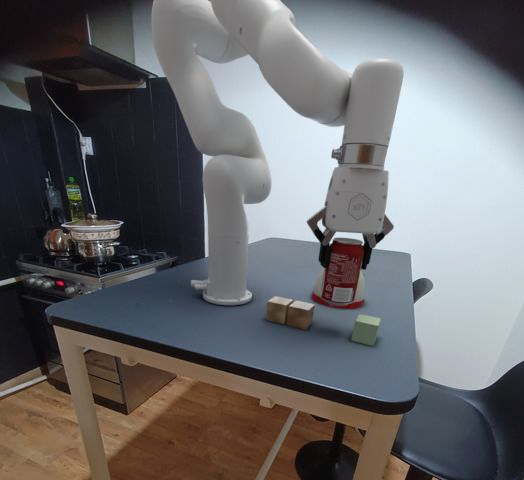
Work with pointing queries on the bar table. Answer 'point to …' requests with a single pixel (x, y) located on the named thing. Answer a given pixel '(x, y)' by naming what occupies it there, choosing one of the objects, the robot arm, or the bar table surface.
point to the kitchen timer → (357, 303)
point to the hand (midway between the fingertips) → (342, 266)
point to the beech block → (300, 314)
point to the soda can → (342, 271)
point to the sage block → (366, 329)
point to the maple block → (278, 309)
